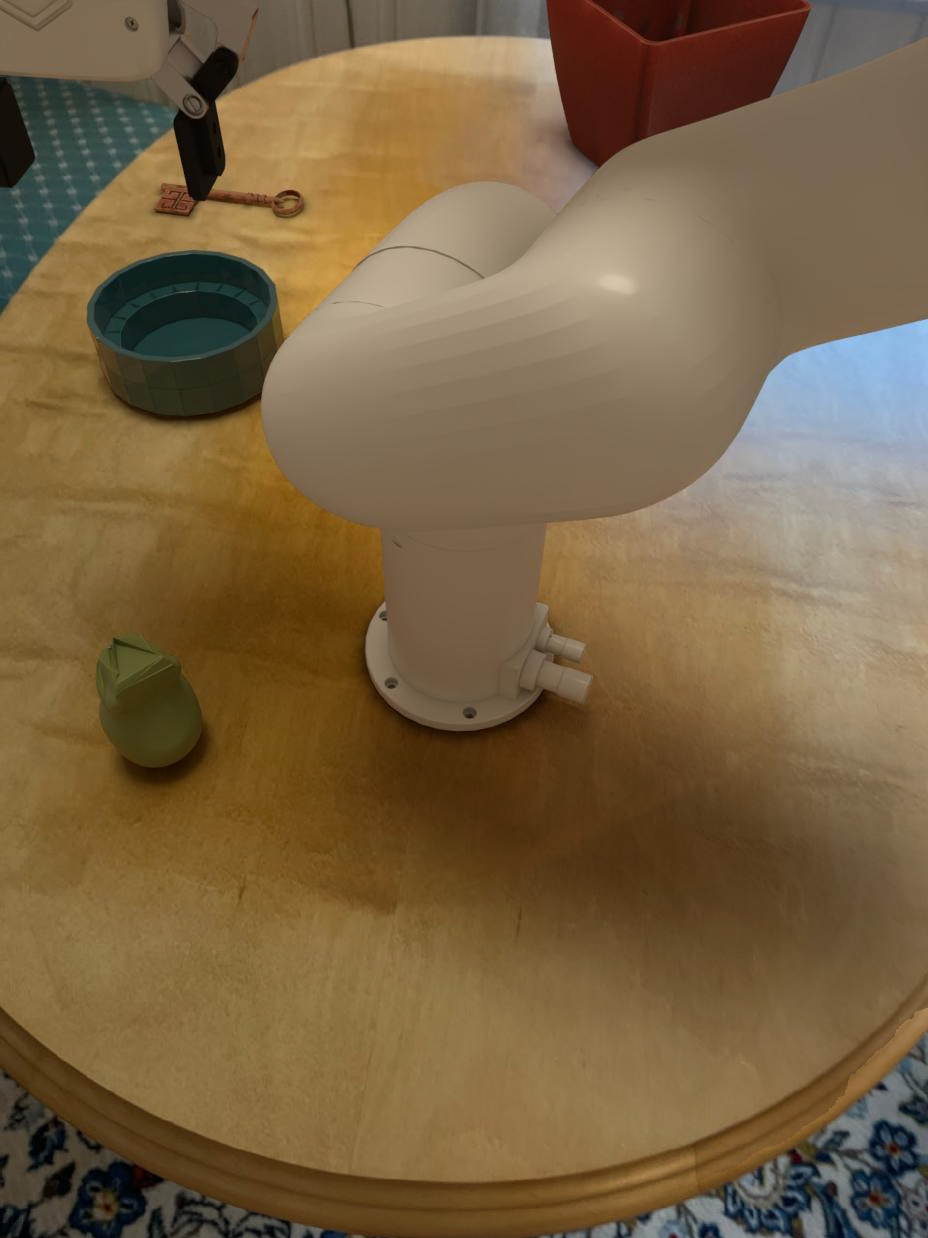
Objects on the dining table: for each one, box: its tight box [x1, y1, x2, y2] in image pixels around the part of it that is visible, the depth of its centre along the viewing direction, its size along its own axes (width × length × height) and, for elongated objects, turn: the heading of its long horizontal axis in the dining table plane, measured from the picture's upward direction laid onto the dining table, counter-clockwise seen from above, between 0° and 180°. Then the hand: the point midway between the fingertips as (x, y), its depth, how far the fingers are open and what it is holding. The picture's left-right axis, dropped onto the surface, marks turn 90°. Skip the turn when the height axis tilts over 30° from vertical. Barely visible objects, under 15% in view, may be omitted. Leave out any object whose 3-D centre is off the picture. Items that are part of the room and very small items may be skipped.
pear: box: [95, 632, 203, 769], centre depth 57 cm, size 6×5×10 cm
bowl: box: [86, 249, 285, 417], centre depth 82 cm, size 15×15×6 cm
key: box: [153, 182, 304, 216], centre depth 99 cm, size 6×1×15 cm
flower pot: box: [545, 0, 813, 169], centre depth 100 cm, size 19×19×17 cm
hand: (111, 180), depth 49 cm, fingers open, 9 cm apart
